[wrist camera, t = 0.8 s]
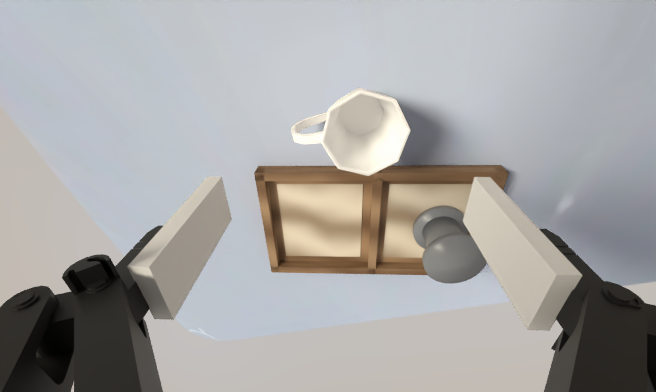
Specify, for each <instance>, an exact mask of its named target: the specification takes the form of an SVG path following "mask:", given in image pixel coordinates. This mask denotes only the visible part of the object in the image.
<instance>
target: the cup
mask: <svg viewBox="0 0 656 392" xmlns="http://www.w3.org/2000/svg"><path fill="white" fill-rule="evenodd" d="M324 121H326V122H325V126H324V130H323V131H321V132H317V133H312V134H300V133H298V132H299V131H301V130H302V129H305V128H307V127H310V126H312V125H315V124H318V123H321V122H324ZM291 131H292V136H293V139H294V141H295V142H297V143H300V144H316V143H322V145H323V147H324V148H325V150H326V151H327V153H328V154H329V156H330V157H331V159H332V160H333V162H334V164H335V165H336V167H337V168H338V169H341V170H345V171H349V172H354V173H358V174H362V175H366V176H370V175H372V174H374V173H376V172H378V171H380V170H382V169H384V168H386V167H388V166H390V165H392V164H394V163H396V162H398V161H399V158H400V156H401V153H402V151H403V148H404V146H405V143H406V141H407V138H408V136H409V133H410V131H411V130H410V128H409V126H408V123H407V121H406V119H405V117H404V115H403V113H402V111H401V109H400V107H399V105H398V103H397V101H396V99H394V98H392V97H389V96H386V95H384V94H381V93H378V92H374V91H370V90H366V89H363V88H357V89H355V90H354V91H352V92H350V93H349V94H347V95H346V96H344V97H342V98H341V99H339V100H337V101H336V103H335V104H334V105H332V106H331V107H330V108H329V109H328V112H326V113H322V114H319V115H316V116H313V117H310V118H307V119H304V120H302V121H299V122H297V123H296V124H294V125H293V126H292V128H291Z"/></svg>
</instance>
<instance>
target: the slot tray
mask: <svg viewBox="0 0 656 392" xmlns="http://www.w3.org/2000/svg"><path fill="white" fill-rule="evenodd" d="M508 173H509V172H508V171H506V170H505V169H504V168H503V167H502V166H501V165H452V166H388V167H386V168H384V169H382V170H380V171H378V172H376V173H374V174H372V175H370V176H366V175H362V174H358V173H354V172H349V171H345V170H341V169H338V168H337V167H336V166H258V168H257V170H256V171H255V173H254V174H255V180H256V185H257V191H258V197H259V202H260V208H261V214H262V219H263V225H264V231H265V237H266V242H267V248H268V254H269V259H270V265H271V271H272V272H287V273H343V274H399V275H428V274H427V273H426V271H425V269H424V266H423V263H422V256H423V252H424V250H425V249H424V248H422V247H420V246H419V245H418V244H417V242H416V241H415V238H414V235H413V224H414V222H415V220H416V218H417V217H418V216H419V215H420V214H421V213H422V212H424V211H425V210H427V209H429V208H432V207H435V206H442V205H445V206H452V207H455V208H457V209H458V210H460V211H461V212H462V213H463V214H465V211H466V207H467V203H468V199H469V195H470V192H471V188H472V184H473V180H474V177H490V178H491V179H492V180H493V181H494V182H495V183H496V184H497V185H498V186H499V187H500V188H501V189H502V190H503V189H504V186H505V183H506V179H507V176H508ZM468 234H469V235H471V234H470V233H469V231H468Z"/></svg>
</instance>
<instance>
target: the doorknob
mask: <svg viewBox="0 0 656 392" xmlns="http://www.w3.org/2000/svg"><path fill="white" fill-rule="evenodd" d="M463 218H464V214H463V213H462V212H461V211H460V210H458V209H457V208H455V207H452V206H445V205H442V206H435V207H432V208H429V209H427V210H425V211H424V212H422V213H421V214H420V215H419V216H418V217H417V218H416V220H415V222H414V224H413V235H414V238H415V241H416V242H417V244H418V245H419V246H420V247H422V248H424V249H425V250H424V252H423V256H422V263H423V266H424V269H425V271H426V273H427V274H428V276H429V277H431V278H432V279H434V280H436V281H438V282H442V283H459V282H463V281H466V280H468V279H471V278H473V277H474V276H476V275H477V274H478V273H479V272H480V271H481V270H482V269H483V268H484V266H485V265H486V262H487V261H486V259H485V258H484V256H483V254H482V253H481V251H480V249H479V248H478V246H477V244H476V243H475V241H474V239H473V238H472V236H471V235H469V234H468V229H467V228H466V226H465V224H464V222H463Z"/></svg>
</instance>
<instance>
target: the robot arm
mask: <svg viewBox="0 0 656 392" xmlns="http://www.w3.org/2000/svg"><path fill="white" fill-rule="evenodd" d="M231 219H232V218H231V214H230V210H229V206H228V202H227V198H226V193H225V189H224V185H223V181H222V177H207V178H206V179H205V180H204V181H203V182H202V184H201V185H200V186H199V187H198V188H197V189H196V190H195V191H194V192H193V194H192V195H191V196H190V197H189V198H188V199H187V200H186V201H185V203H184V204H183V205H182V206H181V207H180V208H179V209H178V210H177V211H176V213H175V214H174V215H173V216H172V217H171V218H170V219H169V220H168V222H167V223H166V224H165V225H164V226H157V227H156V228H154V229H152V230H151V231H149V232H148V233H147V234H146V235H145V236H144V237H143V238H142V239H141V240H140V242H139V243H137V244H136V245H135V246H134V247H133V249H131V250H130V252H129V253H128V254H127V255H126V256H125V257H124V258H123V259H122V260H121V261H120V262H119V263H118V264H117V265H116V266H114V264H113V263H112V261H111V259H110V258H109V256H107V255H94V256H90V257H86V258H84V259H82V260H80V261H78V262H76V263H74V264H73V265H71V266H70V267H69V268H68V269H67V270H66V271H65V272H64V274H63V277H62V278H63V280H64V281H65V283H66V284H67V285H68V287H69V288H70V290H71V291H72V292H67V293H63V294H58V295H54V294H53V292H52V291H51V290H50V288H48V287H46V286H38V287H33V288H30V289H27V290H24V291H22V292H20V293H18V294H16V295H14V296H13V297H11V298H10V299H9V300H7V301H6V302H5V303H4V304H3V305H2V306H1V307H0V392H71V388H72V385H73V382H74V392H163V391H162V387H161V382H160V378H159V375H158V370H157V366H156V362H155V358H154V354H153V349H152V345H151V341H150V337H149V333H148V329H147V325H146V322H145V320H144V319H143V317H144V316H145V314H146V313H147V311H148V310H150V311H151V313H152V315H153V317H154V319H174V318H175V316H176V314H177V313H178V311H179V309H180V308H181V306H182V304H183V302H184V301H185V299H186V297H187V295H188V294H189V292H190V290H191V289H192V287H193V285H194V283H195V282H196V280H197V278H198V276H199V275H200V273H201V271H202V270H203V268H204V266H205V264H206V263H207V261H208V259H209V257H210V256H211V254H212V252H213V251H214V249H215V247H216V245H217V244H218V242H219V240H220V238H221V237H222V235H223V233H224V232H225V230H226V228H227V226H228V225H229V223H230V221H231ZM463 222H464V224H465V226H466V228H467V229H468V231H469V233H470V234H471V236H472V238H473V239H474V241H475V243H476V244H477V246H478V248H479V249H480V251H481V253H482V254H483V256H484V258H485V259H486V261H487V263H488V265H489V266H490V268H491V270H492V271H493V273H494V275H495V276H496V278H497V280H498V281H499V283H500V285H501V286H502V288H503V290H504V291H505V293H506V295H507V297H508V298H509V300H510V302H511V303H512V305H513V307H514V308H515V310H516V311H517V313H518V315H519V317H520V318H521V320H522V322H523V323H524V325H525V327H526V329H527V330H548V331H549V330H550V329H551V327H552V325H553V324H554V322H555V321H556V320H557V321H558V322H559V324H560V325H561V326H562V328H563V331H562V332H561V334H560V335H559V337H558V339H557V340H556V342H555V343H554V345H553V346H552V349H553V350H555V354H554V357H553V361H552V364H551V368H550V372H549V375H548V379H547V383H546V386H545V390H544V392H656V306H655V305H650V304H646V303H644V302H643V301H642V300H641V298H640V297H639V296H637V295H636V294H635V293H633V292H632V291H630V290H629V289H626V288H624V287H622V286H620V285H618V284H614V283H611V282H605V281H603V280H602V279H601V278H600V277H599V276H598V275H597V274H596V273H595V272H594V271H593V270H592V269H591V268H590V267H589V266H588V265H587V264H586V263H585V262H584V261H583V260H582V259H581V258H580V257H579V256H578V255H576V253H575V252H574V251H573V250H572V249H571V248H568V245H567V244H566V243H565V242H564V241H563V240H562V239H561V238H560V237H558V236H557V235H555V234H554V233H552V232H550V231H549V230H547V229H538V227H537V226H536V225H535V224H534V223H533V222H532V221H531V220H530V219H529V218H528V217H527V216H526V215H525V214H524V213H523V212H522V210H521V209H520V208H519V207H518V206H517V205H516V204H515V203H514V202H513V201H512V200H511V199H510V198H509V197H508V196H507V195H506V194H505V192H504V191H503V190H502V189H501V188H500V187H499V186H498V185H497V184H496V183H495V182H494V181H493V180H492V179H491V178H490V177H474V180H473V184H472V188H471V192H470V195H469V199H468V203H467V207H466V211H465V214H464V218H463Z"/></svg>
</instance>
